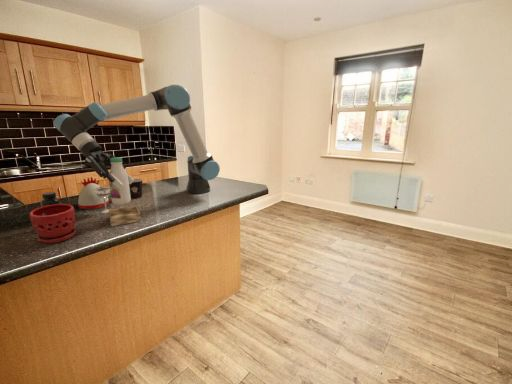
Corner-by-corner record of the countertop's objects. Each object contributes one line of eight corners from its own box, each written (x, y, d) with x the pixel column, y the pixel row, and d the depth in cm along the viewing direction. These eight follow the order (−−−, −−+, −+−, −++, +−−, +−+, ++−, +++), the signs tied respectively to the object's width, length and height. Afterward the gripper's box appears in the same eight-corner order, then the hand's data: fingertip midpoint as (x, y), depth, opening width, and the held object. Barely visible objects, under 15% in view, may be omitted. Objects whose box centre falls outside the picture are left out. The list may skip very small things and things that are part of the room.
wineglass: (99, 209, 129) (95, 186, 125) (114, 208, 131) (111, 185, 128) (97, 214, 123) (93, 190, 119) (113, 212, 125) (109, 189, 122)
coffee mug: (146, 195, 155) (145, 179, 152) (139, 199, 146) (137, 182, 144) (128, 194, 156) (126, 178, 153) (120, 198, 147) (117, 181, 145)
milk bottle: (127, 198, 120) (122, 156, 115) (133, 202, 115) (128, 158, 110) (109, 201, 115) (103, 157, 110) (115, 206, 110) (108, 159, 104)
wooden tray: (137, 212, 125) (136, 206, 124) (141, 220, 116) (140, 213, 115) (109, 217, 119) (108, 210, 118) (111, 226, 110) (110, 218, 109)
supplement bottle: (48, 222, 113) (42, 196, 109) (41, 219, 116) (35, 193, 113) (65, 217, 118) (60, 192, 115) (59, 214, 122) (54, 190, 118)
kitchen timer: (75, 204, 136) (70, 177, 132) (104, 199, 146) (100, 173, 142) (83, 210, 127) (78, 181, 123) (112, 204, 137) (108, 177, 133)
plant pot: (27, 242, 94) (20, 212, 91) (64, 229, 106) (58, 201, 103) (51, 249, 90) (43, 217, 87) (86, 234, 102) (81, 205, 98)
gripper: (100, 149, 121) (135, 184, 123) (63, 154, 101) (105, 196, 104) (108, 138, 119) (144, 174, 121) (72, 141, 99) (116, 184, 101)
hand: (126, 184), depth 112 cm, fingers closed on milk bottle, 7 cm apart
